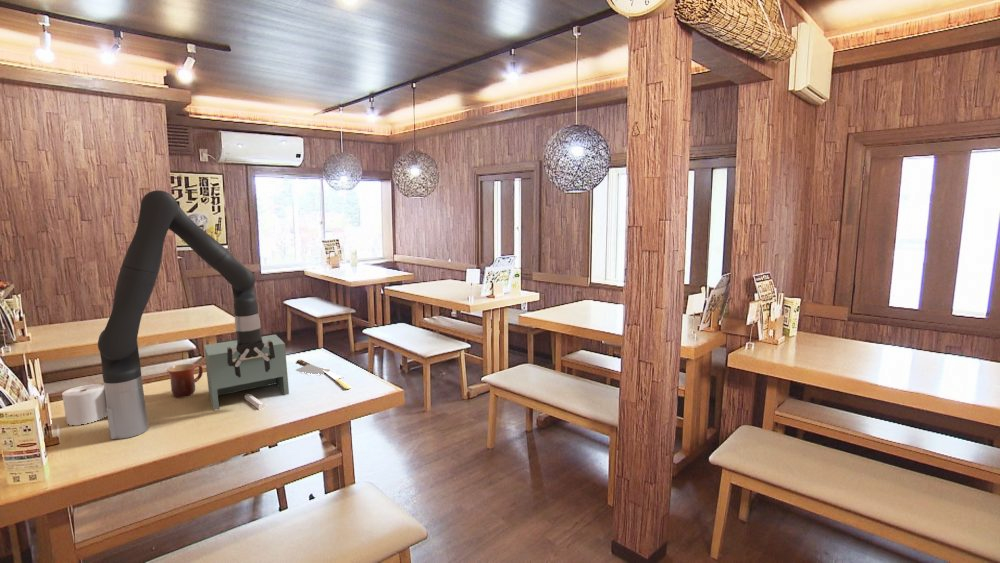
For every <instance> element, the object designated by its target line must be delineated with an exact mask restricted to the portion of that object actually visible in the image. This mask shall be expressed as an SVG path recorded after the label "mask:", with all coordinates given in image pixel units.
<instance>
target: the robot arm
mask: <svg viewBox="0 0 1000 563" xmlns="http://www.w3.org/2000/svg"><path fill="white" fill-rule="evenodd" d="M139 207H140V208H139V215H138V220H137V226H136V229H135V233H134V235H133V237H132V240H131V242H130V244H129V246H128V248H127V251H126V253H125V255H124V258H123V261H122V262H121V267H120V269H119V273H118V276H117V281H116V285H115V290H114V296H113V297H114V298H113V302H112V309H111V312H110V315H109V318H108V319H107V320H108V321H107V323H106V326H105V328H104V329H103V330H102V331H101V333H100V334H99V336H98V340H97V349H98V351H99V354H100V362H101V373H102V380H103V385H104V388H105V395H106V402H107V416H106V417H107V423H108V430H109V436H110V440H117V439H119V440H120V439H127V438H128V439H129V438H132V437H136V436H139V435H141V434H144V433H146V432H147V431H148V430H149V422H148V416H147V407H146V402H145V401H146V400H145V393H144V392H145V391H144V385H143V376H142V368H141V362H140V361H141V360H140V359H141V358H140V353H139V345H138V344H139V343H138V337H139V336H138V335H139V331H140V330H139V329H140V325H141V321H142V316H143V313H144V312H145V309H146V307H147V305H148V302H150V299H151V295H152V294H153V291H154V288H155V285H156V282H157V279H158V276H159V272H160V269H161V265H162V264H161V263H162V260H163V259H162V258H163V252H164V251H163V250H164V245H165V239H166V237H167V233H168V231H169V230H170V231H171V232H172V233H174V234H175V235H176V236H177V237H179V238H180V239H181V240H182V241H183V242H184V243H185V244H186V245H187V246H188V247H189V248H190V249H191V250H192V251H193V252H194V253H196V255H197V256H198V257H200V258H201V259H202V260H203V261H204V262H205V263H206V264H208V265H209V267H211V268H212V269H214V271H216V272H217V273H219V274H220V275H221V276H222V277H223V279H224V280H226V281H227V282H228V283H229V285H231V289H232V296H233V309H234V311H233V312H234V328H235V335H236V340H237V347H233V348H231V347H228V348H227V361H228V365H229V366H234V368H235V374H236V376H238V377H241V374H240V366H239V365H240V363H241V362H242V361H243V359H244V358H250V357H257V356H258V355H260V356H261V357H262V358H264V359H265V360H264V365H265V371H266V372H268V370H270V362H269V361H270V360H271V359H272V358H275V353H274V348H273V343H272V341H270V340H269V341H268V342H264V343H263V342H262V329H261V328H262V326H261V319H260V314H259V308H258V300H257V297H256V291H255V290H256V289H255V283H256V276H255V274H254V273H253V272H252V270H250V269H249V268H248V267H245V265H243V264H242V263H241V262H240V261H238V260H237V259H236V258H235V257H234V256H233V254H232V253H231V252H230V251H229V250H228V249H227V248H226V247H224V246H223V245H222V244H221V243H220V242H219V241H218V240H216V239H215V238H214V237H213V236H212V235H210V234H209V233H208V232H206V231H205V230H203V228H201V227H200V226H199V225H197V224H196V222H194V221H193V220H192V219H191V218H190V217H189V216H188V214H186V212H185V211H184V210H183V209H182V207H181V206H180V205H179V204H178V201H177V200H176V198H175V197H174V196H173V195H172V194H171V193H170V192H167V191H164V190H159V189H158V190H157V189H156V190H151V191H150V192H147V193H146V194H144V196H143V197H142V198H141V202H140V206H139ZM264 346H266V347H267V348H269V353H270V355H268V356H267V355H265V354H264V353H263V352H262V351H261V350H262V349H263V347H264ZM236 350H237V351H238V352H239V353H240V354H239V355H238V357H237V359H236V361H235V362H233V360H232V354H234V353H235V351H236Z"/></svg>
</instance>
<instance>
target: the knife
mask: <svg viewBox="0 0 1000 563" xmlns="http://www.w3.org/2000/svg"><path fill="white" fill-rule="evenodd" d="M324 367H325V366H323V367H321V368H324ZM324 369H326V368H324ZM322 371H323V372H325V373H326V375H328V377H330V378H332V379H333V380H335V382H336V383H338V384H339V385H340V386H341V387H342V388H344V389H345V390H349V389H351V388H352V386H351V385H348V384H346V382H344V381H342V380H341V378H343V377H344V376H343V377H341V376H342V375H341V376H339V375H336V374H335V373H333V372H331V371H330V372H326V371H324V370H322ZM343 379H344V378H343Z"/></svg>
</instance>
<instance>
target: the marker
mask: <svg viewBox="0 0 1000 563" xmlns="http://www.w3.org/2000/svg"><path fill="white" fill-rule="evenodd" d="M243 398H244V399H245V401H247V402H248V401H249V402H248V403H250V404H251V405H253V406H254V407H255V408H257V409H258V410H259V409H260V410H262V409H263V408H264V409H265V408H266V404H265V403H264V402H262V401H260V399H258V398H256V397H255V396H253V395H252V394H250V393H246V394H245V395H244V397H243ZM264 409H263V410H264Z"/></svg>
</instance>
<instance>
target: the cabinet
mask: <svg viewBox="0 0 1000 563" xmlns="http://www.w3.org/2000/svg"><path fill="white" fill-rule="evenodd" d="M269 340H270V341H272V343H273V348H274V353H275V358H272V359H271V360H270V361H269V362H270V370H268V372H266V371H265V365H264V360H265V359H264V358H262V357H261V356H260V355H258V356H257V357H250V358H244V359H243V361H242V362H241V363H240V365H239V366H240V374H241V377H238V376H236V374H235V368H234V366H229V365H228V361H227V348H228V347H231V348H233V347H237V339H236V340H229V341H222V342H217V343H215V342H214V343H209V344H204V345H203V351H204V358H205V361H204V362H205V368H206V369H205V370H206V379H207V387H208V394H209V399H210V402H211V405H212V408H213V410H214V411H216V410H219V409H220V403H219V396H222V395H226V394H231V393H237V392H242V391H247V390H253V389H256V388H261V387H266V386H272V385H277V387H278V388H279V389H280V391H281V392H282V393H283V395H284V396H286V395H287V396H288V395H289V394H290V389H289V387H290V386H289V379H288V378H289V376H288V365H287V353H286V343H285V342H284V341H283V340H282V339H281V338H280V337H279V336H278V335H277V334H276V333H275V334H270V335H263V336H262V342H263V343H264V342H268V341H269ZM261 351H262V352H263V353H264V354H265V355H267V356H268V355H270V353H269V348H267V347H266V346H264V347H263V349H262V350H261ZM239 354H240V353H239V352H238V351H237V350H236V351H235V353H234V354H232V360H233V362H235V361H236V359H237V357H238V355H239ZM246 389H247V390H246ZM241 390H242V391H241Z"/></svg>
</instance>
